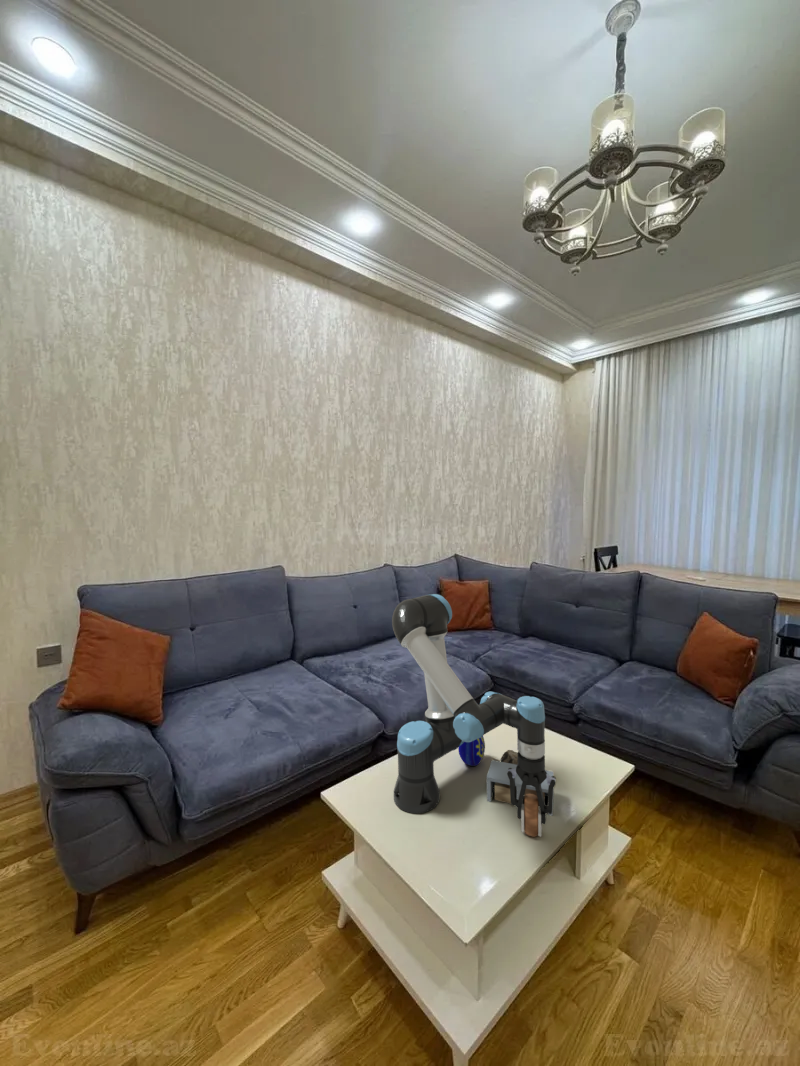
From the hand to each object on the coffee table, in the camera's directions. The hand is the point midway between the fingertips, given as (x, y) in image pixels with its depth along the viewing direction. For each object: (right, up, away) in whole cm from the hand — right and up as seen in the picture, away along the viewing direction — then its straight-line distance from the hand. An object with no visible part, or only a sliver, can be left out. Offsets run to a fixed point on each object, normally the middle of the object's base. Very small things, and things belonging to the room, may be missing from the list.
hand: (531, 830), depth 124 cm
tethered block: (+3, 0, +7) cm, 8 cm away
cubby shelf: (+1, 0, +15) cm, 15 cm away
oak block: (-3, 0, +17) cm, 17 cm away
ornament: (-11, +1, +35) cm, 37 cm away
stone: (+3, 0, +28) cm, 28 cm away
